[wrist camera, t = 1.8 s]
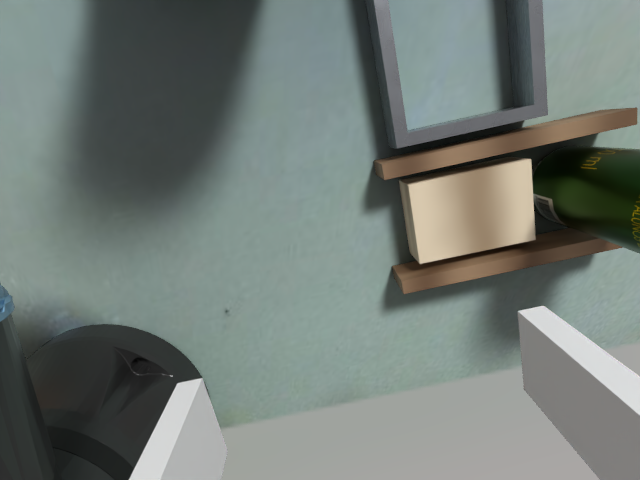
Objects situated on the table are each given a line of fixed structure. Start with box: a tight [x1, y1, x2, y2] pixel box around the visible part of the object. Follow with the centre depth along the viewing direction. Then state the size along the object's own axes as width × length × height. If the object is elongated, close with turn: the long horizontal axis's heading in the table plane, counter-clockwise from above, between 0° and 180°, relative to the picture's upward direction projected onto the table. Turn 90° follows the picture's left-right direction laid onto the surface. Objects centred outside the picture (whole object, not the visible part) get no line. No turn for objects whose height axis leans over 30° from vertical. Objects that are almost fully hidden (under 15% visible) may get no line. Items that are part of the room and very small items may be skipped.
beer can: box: [532, 146, 640, 253], centre depth 22 cm, size 5×5×12 cm
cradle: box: [365, 0, 548, 148], centre depth 24 cm, size 14×10×2 cm
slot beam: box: [374, 108, 637, 294], centre depth 27 cm, size 16×9×3 cm, turn 102°
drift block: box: [399, 156, 536, 264], centre depth 27 cm, size 8×6×3 cm
